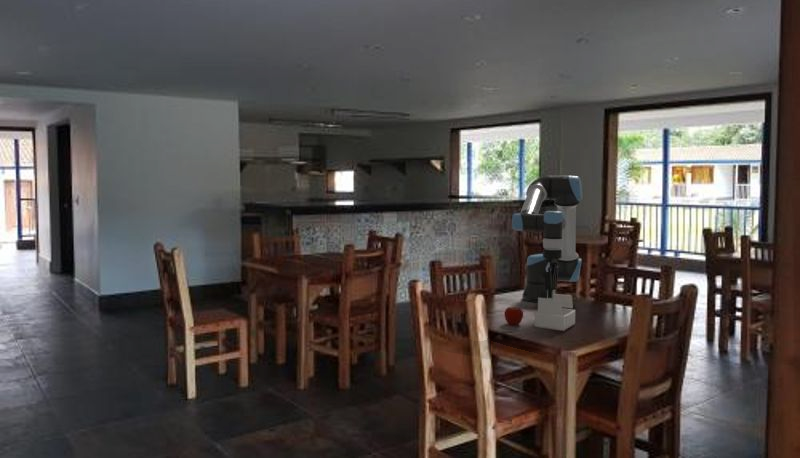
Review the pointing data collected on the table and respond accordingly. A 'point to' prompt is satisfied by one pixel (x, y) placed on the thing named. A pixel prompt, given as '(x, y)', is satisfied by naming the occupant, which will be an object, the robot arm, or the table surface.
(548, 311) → the flap
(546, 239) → the robot arm
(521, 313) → the apple
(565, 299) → the flap
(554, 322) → the carton
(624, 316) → the table surface
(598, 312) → the table surface
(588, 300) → the table surface
